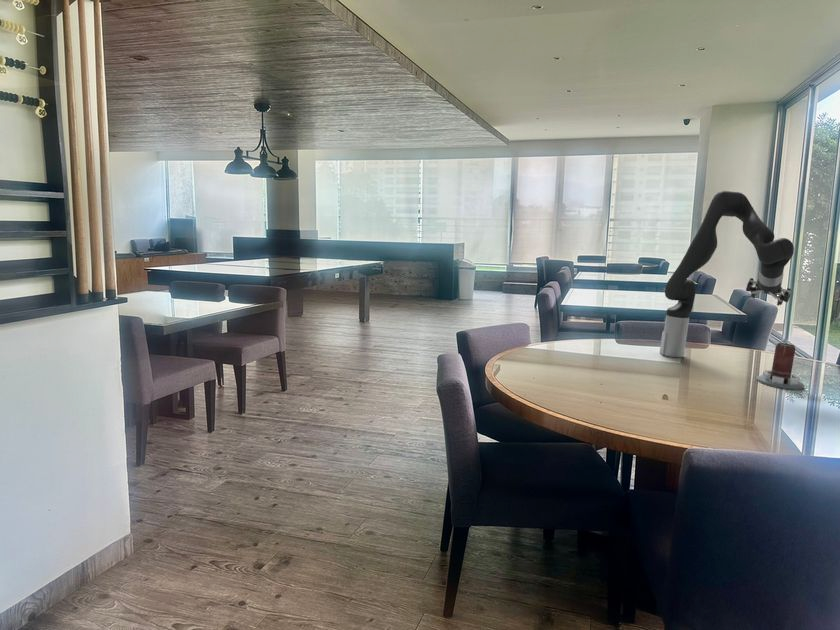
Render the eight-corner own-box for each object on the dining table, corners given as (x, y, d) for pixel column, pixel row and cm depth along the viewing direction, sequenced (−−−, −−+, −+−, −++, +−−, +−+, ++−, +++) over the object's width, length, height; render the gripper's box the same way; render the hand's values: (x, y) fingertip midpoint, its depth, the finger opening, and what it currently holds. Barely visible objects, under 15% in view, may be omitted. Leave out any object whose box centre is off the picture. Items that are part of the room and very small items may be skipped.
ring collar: (769, 383, 209) (770, 376, 208) (758, 375, 220) (759, 369, 219) (803, 387, 206) (804, 380, 206) (790, 378, 217) (791, 372, 217)
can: (770, 382, 211) (777, 344, 208) (769, 378, 216) (775, 341, 214) (790, 385, 208) (796, 347, 206) (788, 381, 214) (794, 344, 211)
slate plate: (765, 386, 207) (765, 384, 207) (750, 376, 222) (751, 373, 222) (811, 391, 205) (811, 389, 204) (793, 380, 219) (793, 378, 219)
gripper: (796, 274, 204) (791, 297, 216) (753, 263, 212) (750, 286, 224) (788, 291, 202) (783, 314, 215) (745, 279, 210) (742, 302, 223)
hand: (766, 300), depth 219 cm, fingers open, 8 cm apart
